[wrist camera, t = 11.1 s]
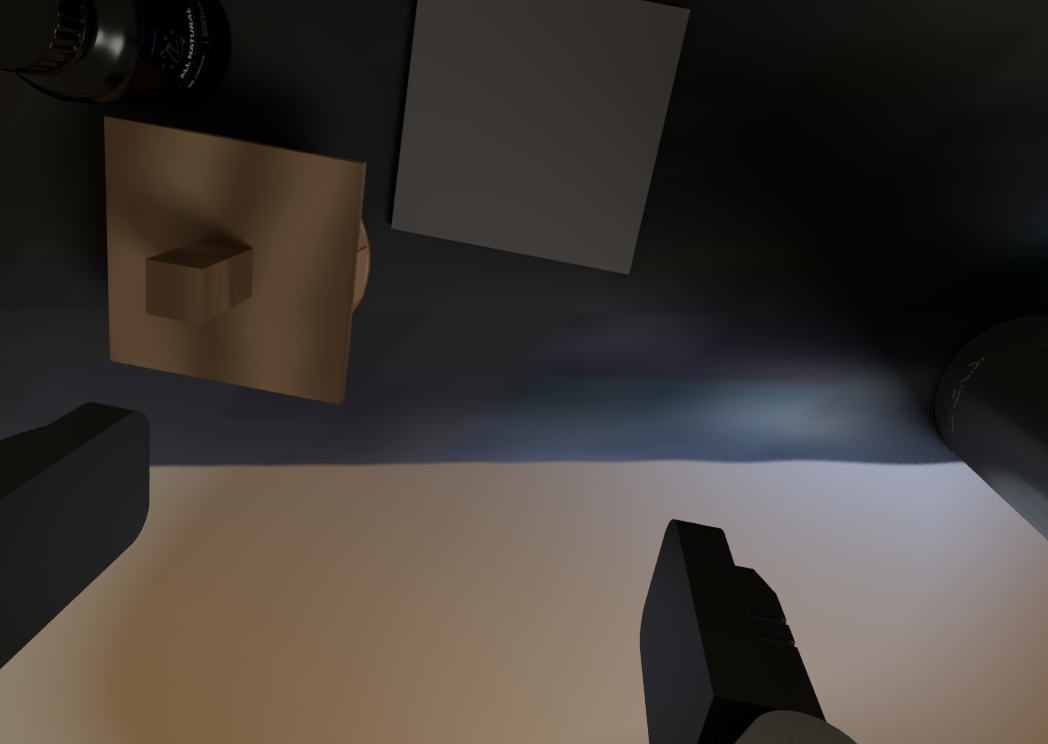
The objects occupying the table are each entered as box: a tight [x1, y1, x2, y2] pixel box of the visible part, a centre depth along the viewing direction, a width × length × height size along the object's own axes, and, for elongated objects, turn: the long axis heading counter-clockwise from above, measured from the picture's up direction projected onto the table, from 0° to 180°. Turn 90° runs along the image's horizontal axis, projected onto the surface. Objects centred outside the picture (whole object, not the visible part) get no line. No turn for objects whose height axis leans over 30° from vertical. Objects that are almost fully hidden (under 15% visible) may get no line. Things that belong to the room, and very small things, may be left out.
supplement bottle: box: [0, 0, 232, 107], centre depth 32 cm, size 7×7×12 cm
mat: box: [391, 0, 690, 274], centre depth 38 cm, size 13×13×1 cm
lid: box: [104, 116, 366, 404], centre depth 34 cm, size 12×12×6 cm
